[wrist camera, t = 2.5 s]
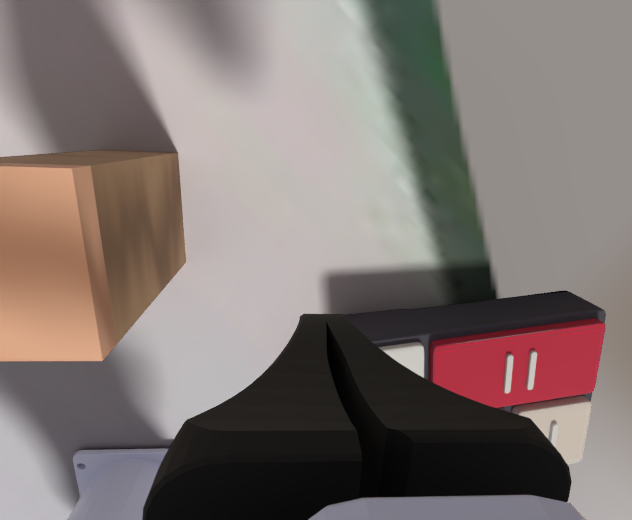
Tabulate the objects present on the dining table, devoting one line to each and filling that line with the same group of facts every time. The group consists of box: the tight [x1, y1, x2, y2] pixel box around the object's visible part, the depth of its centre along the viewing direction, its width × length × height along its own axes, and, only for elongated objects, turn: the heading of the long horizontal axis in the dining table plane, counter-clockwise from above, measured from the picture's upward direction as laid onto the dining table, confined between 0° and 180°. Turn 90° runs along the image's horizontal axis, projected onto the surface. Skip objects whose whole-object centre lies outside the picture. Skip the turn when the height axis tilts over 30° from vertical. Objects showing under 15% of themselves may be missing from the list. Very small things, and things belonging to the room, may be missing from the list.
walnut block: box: [0, 150, 186, 361], centre depth 16 cm, size 6×4×10 cm, turn 178°
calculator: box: [344, 291, 606, 464], centre depth 24 cm, size 11×4×15 cm
